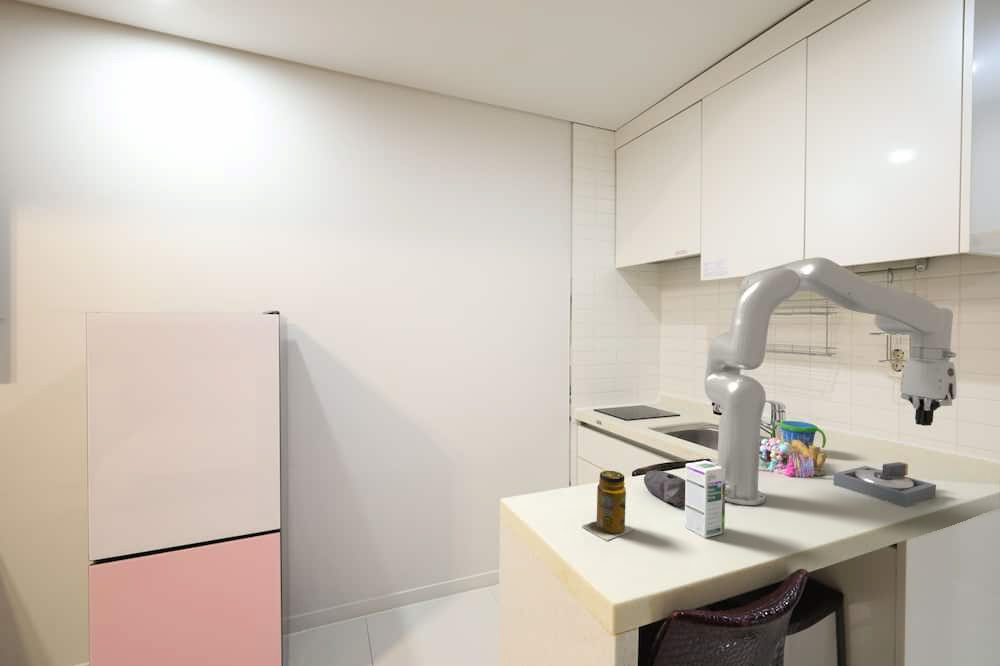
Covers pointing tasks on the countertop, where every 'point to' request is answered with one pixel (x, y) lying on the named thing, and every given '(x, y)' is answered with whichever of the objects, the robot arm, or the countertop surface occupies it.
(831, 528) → the countertop surface
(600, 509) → the condiment
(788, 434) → the snack cup
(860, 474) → the dial
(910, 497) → the housing
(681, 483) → the perforated stone tool
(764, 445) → the pastel sphere sculpture
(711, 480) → the syrup box
